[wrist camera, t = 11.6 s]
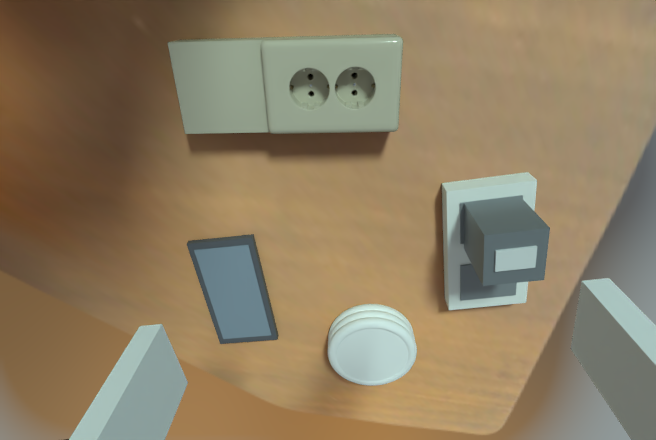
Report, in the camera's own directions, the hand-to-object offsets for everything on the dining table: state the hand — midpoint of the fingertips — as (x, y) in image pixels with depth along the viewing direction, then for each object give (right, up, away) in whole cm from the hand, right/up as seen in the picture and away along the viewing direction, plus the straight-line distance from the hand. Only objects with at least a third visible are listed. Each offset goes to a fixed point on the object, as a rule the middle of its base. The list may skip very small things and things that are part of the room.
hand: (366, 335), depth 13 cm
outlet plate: (+15, +2, +29) cm, 32 cm away
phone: (-11, -4, +33) cm, 35 cm away
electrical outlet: (-4, +16, +23) cm, 28 cm away
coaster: (+4, -10, +36) cm, 37 cm away
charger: (+14, +3, +25) cm, 29 cm away
